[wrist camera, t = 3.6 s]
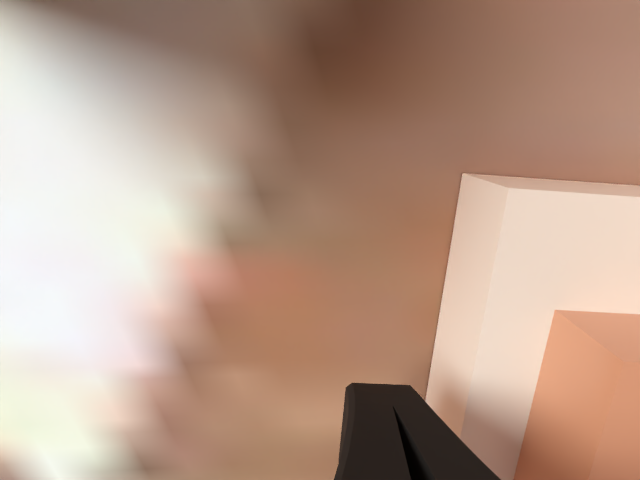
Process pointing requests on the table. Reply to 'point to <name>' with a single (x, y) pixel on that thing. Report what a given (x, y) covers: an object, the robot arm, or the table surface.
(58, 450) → the table surface
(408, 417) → the robot arm
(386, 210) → the table surface
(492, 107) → the table surface
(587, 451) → the tile
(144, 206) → the table surface
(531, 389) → the board
